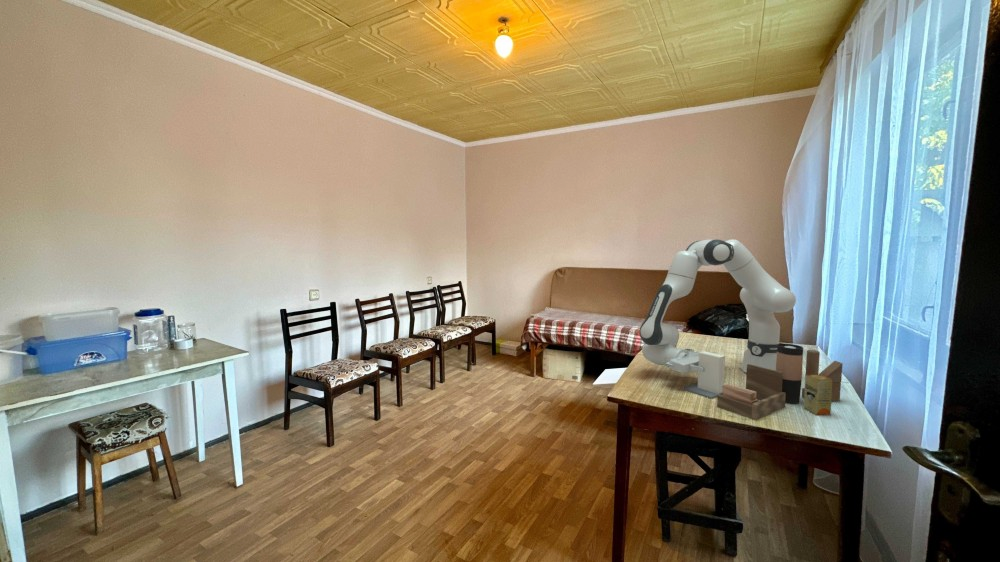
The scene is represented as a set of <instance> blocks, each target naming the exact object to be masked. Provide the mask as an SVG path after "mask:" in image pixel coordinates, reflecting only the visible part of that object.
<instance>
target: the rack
mask: <svg viewBox="0 0 1000 562" xmlns="http://www.w3.org/2000/svg"><path fill="white" fill-rule="evenodd" d="M745 374H746V375H745V376H746V377H745V379H746V380H745V389H748V390H752V391H755V392H757V393H756V399H757V400H758V402H755V403H753V404H752V405H750V404H747V403H743V402H740V401H737V400H734V399H731V398H728V397H725V396H723V395H718V396H717V397H716V399H717V401H716V402H717V404H716V407H717V408H720V409H723V410H726V411H728V412H731V413H735V414H738V415H740V416H743V417H746V418H748V419H752V420H753V421H756V420H759V419H761V418H763V417H766V416H769V415H770V414H772V413H775V412H776V411H779V410H782V409H784V408H785V407H786V403H785V398H786V393H784V392H782V381H783V372H780V371H776V370H772V369H767V368H763V367H759V366H755V365H751V364H747V373H745Z"/></svg>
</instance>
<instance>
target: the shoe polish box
mask: <svg viewBox="0 0 1000 562" xmlns="http://www.w3.org/2000/svg"><path fill="white" fill-rule="evenodd" d="M832 384H833V380H832V379H830V378H827V377H825V376H822V375H806V380H805V379H804V388H805V395H804V398H803V410H804V409H805V411H806V410H807V411H806V412H808V411H809V412H808V413H810V414H813V416H814V415H815V416H827V415H826V414H830V415H831V412H832V411H831V409H832V401H831V399H832Z"/></svg>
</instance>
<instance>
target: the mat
mask: <svg viewBox="0 0 1000 562" xmlns="http://www.w3.org/2000/svg"><path fill="white" fill-rule="evenodd" d="M681 390H683V391H686V392H690V393H692V394H696V395H698V396H701V397H704V396H705V397H704V398H707V397H708V398H707V399H710V398H713V399H714V397H715V398H717V396H718V395H722V396H723V393H720V394H716V393H713V392H710V391H707V390H704V389H701V388H698V381H697V382H695V383H691V384H689V385H685V386H681Z"/></svg>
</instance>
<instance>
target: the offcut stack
mask: <svg viewBox="0 0 1000 562" xmlns="http://www.w3.org/2000/svg"><path fill="white" fill-rule="evenodd" d="M722 393H723V395H722V396H725V397H728V398H731V399H734V400H737V401H740V402H743V403H747V404H750V405H752V404H753V403H755V402H758V401H759V400H757V399H756V393H757V392H755V391H752V390H748V389H746V387H745V388H744V387H741V386H738V385H734V384H730V383H727V384H724V385H723V386H722Z"/></svg>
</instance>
